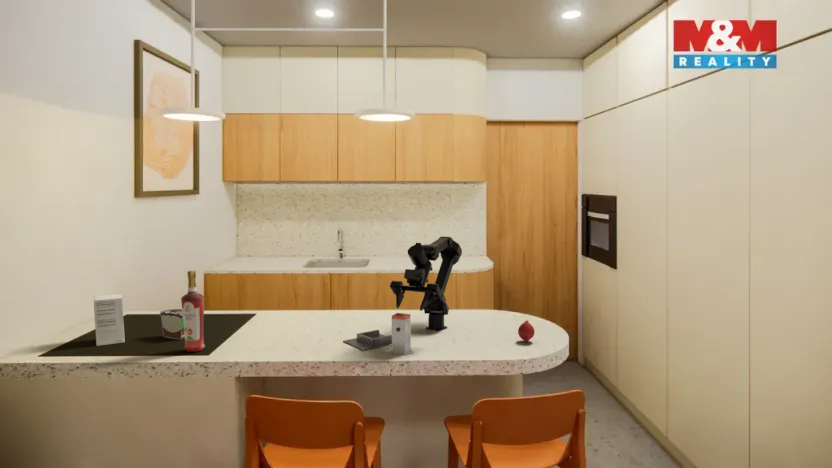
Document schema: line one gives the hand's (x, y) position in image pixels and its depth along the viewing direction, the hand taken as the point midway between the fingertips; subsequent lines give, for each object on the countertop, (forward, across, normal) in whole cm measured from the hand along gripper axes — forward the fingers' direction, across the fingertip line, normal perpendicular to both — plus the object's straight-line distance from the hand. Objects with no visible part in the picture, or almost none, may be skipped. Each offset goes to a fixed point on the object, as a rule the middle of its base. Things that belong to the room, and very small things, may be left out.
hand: (408, 308), depth 194 cm
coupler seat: (+10, -14, +8) cm, 20 cm away
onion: (-6, +37, +25) cm, 45 cm away
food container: (+26, -86, -7) cm, 91 cm away
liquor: (+34, -67, -15) cm, 76 cm away
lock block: (+15, +1, +4) cm, 15 cm away
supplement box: (+37, -105, -18) cm, 112 cm away
